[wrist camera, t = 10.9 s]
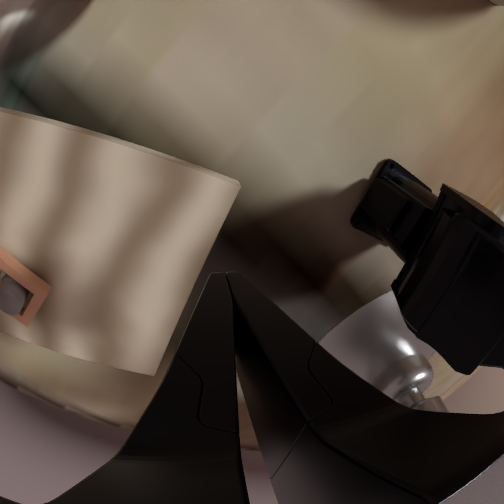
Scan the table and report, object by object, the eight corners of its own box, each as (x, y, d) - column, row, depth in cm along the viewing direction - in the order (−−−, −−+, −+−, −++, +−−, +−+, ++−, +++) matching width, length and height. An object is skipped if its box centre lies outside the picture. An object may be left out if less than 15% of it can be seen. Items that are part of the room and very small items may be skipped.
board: (238, 180, 21) (249, 205, 17) (154, 367, 30) (154, 399, 26) (-42, 98, 11) (-75, 110, 8) (-36, 305, 21) (-51, 332, 17)
